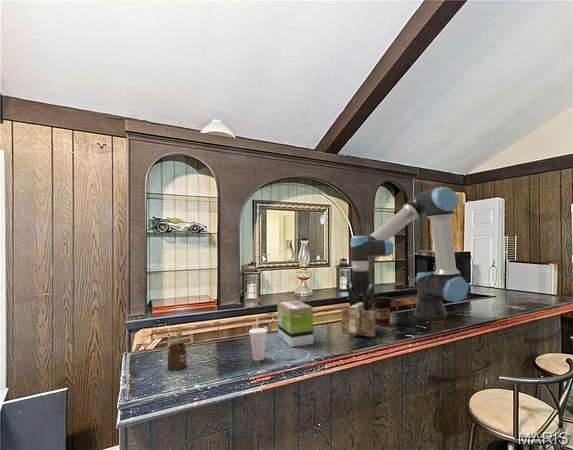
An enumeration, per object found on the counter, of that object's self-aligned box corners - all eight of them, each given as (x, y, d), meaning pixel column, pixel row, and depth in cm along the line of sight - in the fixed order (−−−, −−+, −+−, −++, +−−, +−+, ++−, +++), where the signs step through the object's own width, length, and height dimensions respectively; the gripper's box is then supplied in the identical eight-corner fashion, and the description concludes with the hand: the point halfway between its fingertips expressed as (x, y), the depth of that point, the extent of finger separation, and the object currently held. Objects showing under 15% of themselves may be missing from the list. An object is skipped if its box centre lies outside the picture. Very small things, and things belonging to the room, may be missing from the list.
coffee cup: (393, 328, 145) (392, 299, 146) (374, 327, 147) (373, 298, 148) (391, 323, 154) (390, 295, 155) (373, 322, 156) (372, 295, 156)
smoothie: (262, 354, 115) (261, 314, 116) (271, 359, 109) (270, 318, 110) (246, 357, 111) (245, 317, 112) (254, 363, 106) (253, 320, 107)
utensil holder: (165, 370, 102) (164, 332, 102) (171, 363, 108) (171, 327, 109) (183, 369, 102) (183, 331, 103) (188, 362, 108) (188, 326, 109)
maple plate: (360, 324, 144) (360, 302, 144) (366, 325, 142) (365, 302, 143) (349, 331, 133) (348, 307, 133) (355, 332, 131) (354, 307, 132)
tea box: (277, 337, 135) (276, 301, 136) (298, 334, 139) (298, 299, 140) (291, 347, 122) (290, 308, 122) (314, 343, 125) (313, 305, 126)
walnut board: (375, 335, 135) (374, 311, 135) (373, 336, 133) (372, 312, 133) (344, 330, 142) (343, 308, 143) (342, 332, 140) (341, 309, 141)
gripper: (340, 270, 144) (342, 323, 143) (374, 271, 135) (376, 327, 134) (347, 269, 150) (348, 319, 149) (380, 270, 141) (381, 323, 140)
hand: (361, 323), depth 141 cm, fingers closed on maple plate, 2 cm apart
